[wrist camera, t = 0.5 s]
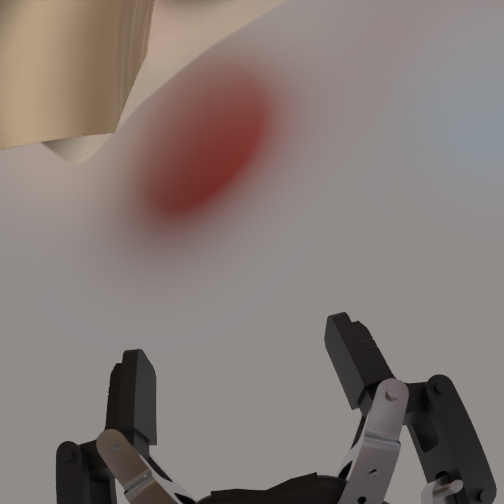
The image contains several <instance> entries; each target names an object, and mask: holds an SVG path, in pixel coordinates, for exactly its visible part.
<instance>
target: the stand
mask: <svg viewBox="0 0 504 504" xmlns="http://www.w3.org/2000/svg"><path fill="white" fill-rule="evenodd" d="M153 5H154V0H0V150H4V149H9V148H13V147H18V146H23V145H28V144H33V143H38V142H44V141H50V140H56V139H63V138H70V137H78V136H86V135H96V134H106V133H115V131H116V128H117V125H118V123H119V120H120V117H121V114H122V112H123V109H124V106H125V104H126V101H127V98H128V96H129V93H130V91H131V89H132V86H133V84H134V81H135V79H136V77H137V75H138V72H139V70H140V68H141V66H142V64H143V61H144V59H145V57H146V55H147V49H148V40H149V32H150V25H151V17H152V11H153Z"/></svg>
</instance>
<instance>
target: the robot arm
mask: <svg viewBox="0 0 504 504" xmlns="http://www.w3.org/2000/svg"><path fill="white" fill-rule="evenodd" d="M324 339H325V346H326V349H327V352H328V354H329V356H330V359H331V361H332V363H333V366H334V368H335V370H336V373H337V375H338V377H339V380H340V382H341V384H342V387H343V389H344V391H345V394H346V397H347V399H348V401H349V404H350V406H351V409H352V410H353V409H356V408H360V410H361V413H362V414H361V417H360V420H359V423H358V426H357V429H356V431H355V435H354V437H353V440H352V443H351V445H350V448H349V450H348V453H347V454H346V456H345V458H344V460H343V462H342V464H341V467H340V469H339V471H338V474H337V476H336V477H334V476H328V475H317V473H316V472H315V473H312V474H308V475H305V476H300V477H296V478H292V479H290V480H287V481H285V482H283V483H281V484H279V485H277V486H275V487H272V488H270V489H268V490H246V489H231V490H221V491H211V495H209V496H207V497H205V498H203V499H201V500H199V501H197V500H196V499H195V498H194V497H193V496H192V495H191V494H190V493H189V492H187V491H186V490H185V489H184V488H183V487H181V486H180V485H179V484H177V483H176V482H175V481H174V480H173V479H172V478H171V477H170V476H169V474H167V472H166V471H165V470H164V469H163V468H162V467H161V466H160V465H159V464H158V462H156V460H155V459H154V458H153V457H152V455H151V454H150V453H149V445H157V436H156V435H157V433H156V375H155V370H154V368H153V366H152V364H151V363H150V361H149V360H148V358H147V357H146V355H145V353H144V352H143V350H141V349H135V350H126V351H124V353H123V360H122V363H117V364H116V365H115V367H114V369H113V371H112V372H111V376H110V387H109V395H108V403H107V415H106V426H105V430H104V431H103V432H102V433H101V434H100V435H99V437H98V438H97V439H96V440H94V441H91V442H87V443H84V444H81V445H77V444H75V443H74V442H71V441H66V442H63V443H62V444H61V445H59V447H58V449H57V453H56V494H57V504H117V498H116V489H115V478H116V479H117V480H118V481H119V483H120V484H121V485H122V486H123V488H124V490H125V492H124V495H125V497H126V499H127V500H128V501H129V503H130V504H389V503H387V502H385V501H383V500H384V497H385V494H386V492H387V489H388V486H389V484H390V480H391V478H392V475H393V472H394V469H395V466H396V462H397V459H398V456H399V452H400V448H401V443H400V442H399V436H400V432H401V428H402V425H407V427H408V430H409V432H410V435H411V437H412V440H413V443H414V446H415V448H416V451H417V454H418V456H419V459H420V462H421V465H422V468H423V471H424V474H425V477H426V480H427V483H428V484H427V485H426V486H425V487H424V489H423V491H422V493H421V504H492V503H493V501H494V499H495V497H496V485H495V482H494V479H493V476H492V473H491V470H490V467H489V464H488V462H487V459H486V456H485V454H484V451H483V449H482V446H481V444H480V441H479V439H478V436H477V434H476V432H475V429H474V427H473V425H472V423H471V420H470V418H469V416H468V413H467V411H466V409H465V407H464V405H463V403H462V401H461V399H460V397H459V395H458V393H457V391H456V389H455V387H454V385H453V383H452V381H451V380H450V379H449V378H448V377H446V376H444V375H434V376H432V377H431V378H430V379H429V380H428V381H427V382H421V383H409V384H408V383H404V382H402V381H401V380H398V379H396V378H395V377H394V375H393V374H392V372H391V370H390V369H389V367H388V365H387V363H386V361H385V359H384V357H383V356H382V354H381V352H380V350H379V348H378V347H377V345H376V343H375V341H374V340H373V338H372V336H371V334H370V332H369V330H368V329H367V328H366V327H365V326H364V325H363V324H361V323H360V322H359V321H356V322H351V320H350V318H349V316H348V315H347V313H345V312H342V313H338V314H335V315H330V316H328V318H327V324H326V331H325V337H324Z"/></svg>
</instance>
